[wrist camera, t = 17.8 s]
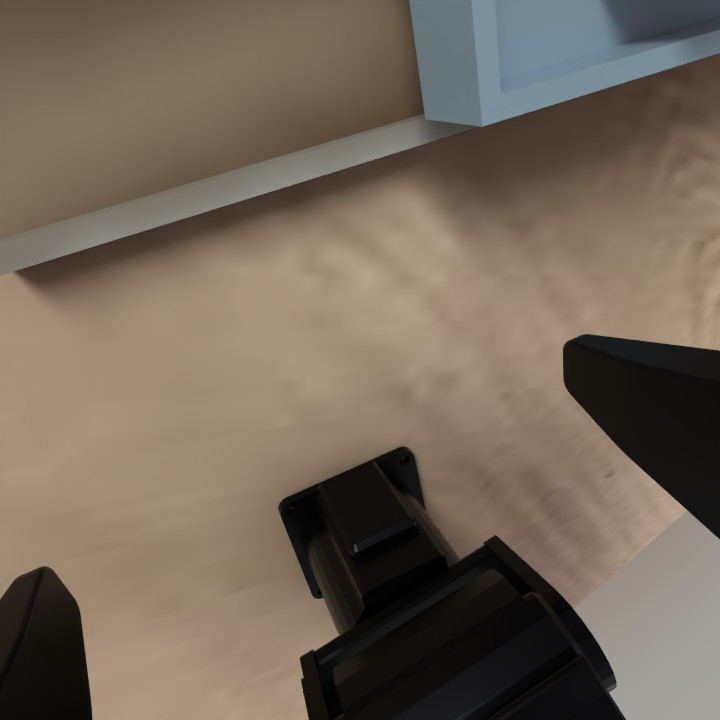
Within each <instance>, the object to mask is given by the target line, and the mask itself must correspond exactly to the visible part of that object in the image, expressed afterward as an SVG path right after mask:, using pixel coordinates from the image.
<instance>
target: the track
mask: <svg viewBox="0 0 720 720" xmlns="http://www.w3.org/2000/svg"><path fill="white" fill-rule="evenodd" d="M478 127H480V126H473V125H465V124H458V123H450V122H443V121H435V120H428V119H425V113H424V105H423V98H422V91H421V83H420V76H419V69H418V61H417V54H416V47H415V39H414V32H413V25H412V17H411V10H410V3H409V0H0V275H4V274H7V273H10V272H13V271H17V270H20V269H23V268H26V267H29V266H33V265H36V264H39V263H42V262H46V261H49V260H52V259H55V258H58V257H62V256H65V255H68V254H71V253H75V252H78V251H81V250H84V249H88V248H91V247H94V246H97V245H100V244H104V243H107V242H110V241H113V240H117V239H120V238H123V237H126V236H129V235H133V234H136V233H139V232H142V231H146V230H149V229H152V228H155V227H159V226H162V225H165V224H168V223H171V222H175V221H178V220H181V219H184V218H188V217H191V216H194V215H197V214H200V213H204V212H207V211H210V210H213V209H217V208H220V207H223V206H226V205H230V204H233V203H236V202H239V201H242V200H246V199H249V198H252V197H255V196H259V195H262V194H265V193H268V192H271V191H275V190H278V189H281V188H284V187H288V186H291V185H294V184H297V183H301V182H304V181H307V180H310V179H313V178H317V177H320V176H323V175H326V174H330V173H333V172H336V171H339V170H342V169H346V168H349V167H352V166H355V165H359V164H362V163H365V162H368V161H372V160H375V159H378V158H381V157H384V156H388V155H391V154H394V153H397V152H401V151H404V150H407V149H410V148H413V147H417V146H420V145H423V144H426V143H430V142H433V141H436V140H439V139H443V138H446V137H449V136H452V135H455V134H459V133H462V132H465V131H468V130H472V129H475V128H478Z"/></svg>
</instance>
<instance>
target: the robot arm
mask: <svg viewBox="0 0 720 720" xmlns="http://www.w3.org/2000/svg"><path fill="white" fill-rule="evenodd" d="M563 378H564V383H565V386H566V388H567V390H568V392H569V393H570V394H571V395H572V396H573V398H574V399H575V400H576V401H577V402H578V403H579V404H580V405H581V406H582V407H583V409H584V410H585V411H586V412H587V413H588V414H589V415H590V416H591V417H592V419H593V420H594V421H595V422H596V423H597V424H598V425H599V426H600V427H601V429H602V430H603V431H604V432H605V433H606V434H607V435H608V436H609V437H610V438H611V440H612V441H613V442H614V443H615V444H616V445H617V446H618V447H619V448H620V449H621V450H622V451H623V452H624V453H625V454H626V455H627V456H628V457H629V458H630V459H631V460H632V461H633V462H635V463H636V464H637V465H638V466H639V467H640V468H641V469H642V470H643V471H645V472H646V473H647V474H648V475H649V476H650V477H651V478H652V479H653V480H655V481H656V482H657V483H658V484H659V485H660V486H661V487H662V488H663V489H665V490H666V491H667V492H668V493H669V494H670V495H671V496H672V497H673V498H675V499H676V500H677V501H678V502H679V503H680V504H681V505H682V506H683V507H684V508H686V509H687V510H688V511H689V512H690V513H691V514H692V515H693V516H695V517H696V518H697V519H698V520H699V521H700V522H701V523H702V524H703V525H705V526H706V527H707V528H708V529H709V530H710V531H711V532H713V534H714V535H716V536H717V537H718V538H719V539H720V351H718V350H710V349H702V348H694V347H686V346H678V345H670V344H662V343H654V342H646V341H638V340H630V339H622V338H614V337H606V336H598V335H590V334H584V335H581V336H579V337H576V338H574V339H572V340H569V341H567V342H566V343H565V345H564V347H563ZM404 456H405V458H404V459H403V460H401V458H403V457H404ZM290 507H294V508H293V509H292V510H289V511H287V510H288V509H289V508H290ZM278 509H279V513H280V515H281V518H282V520H283V523H284V525H285V528H286V530H287V533H288V535H289V538H290V540H291V543H292V545H293V548H294V550H295V553H296V555H297V558H298V560H299V563H300V565H301V568H302V570H303V573H304V575H305V578H306V580H307V583H308V585H309V588H310V590H311V593H312V595H313V597H314V598H317V599H321V598H324V600H325V602H326V605H327V607H328V610H329V612H330V614H331V617H332V619H333V622H334V624H335V627H336V629H337V631H338V634H339V636H338V637H336V638H335V639H333V640H332V641H330V642H328V643H327V644H325V645H324V646H322V647H320V648H319V649H317V650H316V651H314V650H311V651H309V652H308V653H306V654H305V655H303V656H301V657H300V662H301V667H302V671H303V676H304V678H302V679H301V682H302V687H303V693H304V697H305V702H306V707H307V712H308V717H309V720H626V719H625V717H624V716H623V714H622V713H621V711H620V710H619V708H618V706H617V705H616V703H615V702H614V700H613V699H612V697H611V695H610V694H609V692H610V691H612V690H613V689H615V688H616V679H615V676H614V673H613V671H612V668H611V666H610V664H609V662H608V660H607V658H606V656H605V655H604V653H603V651H602V649H601V648H600V646H599V644H598V643H597V641H596V640H595V638H594V637H593V635H592V634H591V632H590V631H589V629H588V628H587V626H586V625H585V624H584V622H583V621H582V620H581V618H580V617H579V616H578V614H577V613H576V612H575V611H574V609H573V608H572V607H571V606H570V605H569V603H568V602H567V601H566V600H565V599H564V598H563V597H562V596H561V595H560V594H559V593H558V592H557V591H556V590H555V589H554V588H553V587H552V586H551V585H550V584H549V583H548V582H547V581H546V580H545V579H543V578H542V577H541V576H540V575H539V574H538V573H537V572H536V571H535V570H534V569H532V568H531V567H530V566H529V565H528V564H527V563H526V562H525V561H524V560H523V559H521V558H520V557H519V556H518V555H517V554H516V553H515V552H514V551H513V550H512V549H510V548H509V547H508V546H507V545H506V544H505V543H504V542H503V541H502V540H501V539H499V538H498V537H497V536H496V535H495V536H493V537H492V538H490V539H488V540H487V541H485V542H484V545H483V546H482V547H480V548H479V549H477V550H475V551H474V552H472V553H471V554H469V555H467V556H466V557H464V558H463V559H461V560H460V558H459V557H458V555H457V554H456V553H455V551H454V550H453V549H452V547H451V546H450V544H449V543H448V542H447V540H446V539H445V538H444V536H443V535H442V534H441V532H440V531H439V529H438V528H437V527H436V525H435V524H434V523H433V521H432V520H431V518H430V517H429V516H428V514H427V513H426V510H425V506H424V501H423V496H422V491H421V486H420V481H419V476H418V472H417V467H416V462H415V457H414V455H413V453H412V452H411V451H410V449H408V448H407V447H400V448H397V449H395V450H393V451H391V452H388V453H386V454H384V455H382V456H379V457H377V458H375V459H373V460H370V461H368V462H366V463H364V464H361V465H359V466H357V467H355V468H352V469H350V470H348V471H346V472H343V473H341V474H339V475H337V476H334V477H332V478H330V479H327V480H325V481H323V482H321V483H318V484H316V485H314V486H312V487H309V488H307V489H305V490H303V491H300V492H298V493H296V494H294V495H291V496H289V497H287V498H285V499H284V500H282V501H281V502H280V504H279V506H278ZM0 720H92V706H91V696H90V688H89V679H88V671H87V663H86V655H85V647H84V639H83V630H82V622H81V615H80V610H79V607H78V604H77V602H76V600H75V598H74V597H73V596H72V594H71V593H70V592H69V590H68V589H67V588H66V586H65V585H64V584H63V582H62V581H61V580H60V579H59V577H58V576H57V575H56V573H55V572H54V571H53V570H52V569H51V568H49V567H47V566H42V567H40V568H37V569H35V570H32V571H30V572H28V573H25V574H23V575H21V576H19V577H17V578H16V579H15V580H14V581H13V583H12V584H11V585H10V587H9V588H8V589H7V591H6V592H5V594H4V595H3V596H2V598H1V599H0Z"/></svg>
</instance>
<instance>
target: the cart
mask: <svg viewBox="0 0 720 720" xmlns="http://www.w3.org/2000/svg"><path fill="white" fill-rule="evenodd" d="M409 3H410V10H411V17H412V25H413V32H414V39H415V47H416V54H417V61H418V69H419V76H420V83H421V91H422V98H423V105H424V113H425V119H428V120H435V121H443V122H450V123H458V124H465V125H473V126H480V127H483V126H486V125H490V124H493V123H496V122H499V121H503V120H506V119H509V118H512V117H515V116H519V115H522V114H525V113H528V112H532V111H535V110H538V109H541V108H544V107H548V106H551V105H554V104H557V103H561V102H564V101H567V100H570V99H573V98H577V97H580V96H583V95H586V94H590V93H593V92H596V91H599V90H602V89H606V88H609V87H612V86H615V85H619V84H622V83H625V82H628V81H632V80H635V79H638V78H641V77H644V76H648V75H651V74H654V73H657V72H661V71H664V70H667V69H670V68H673V67H677V66H680V65H683V64H686V63H690V62H693V61H696V60H699V59H702V58H706V57H709V56H712V55H715V54H719V53H720V0H409Z"/></svg>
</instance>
